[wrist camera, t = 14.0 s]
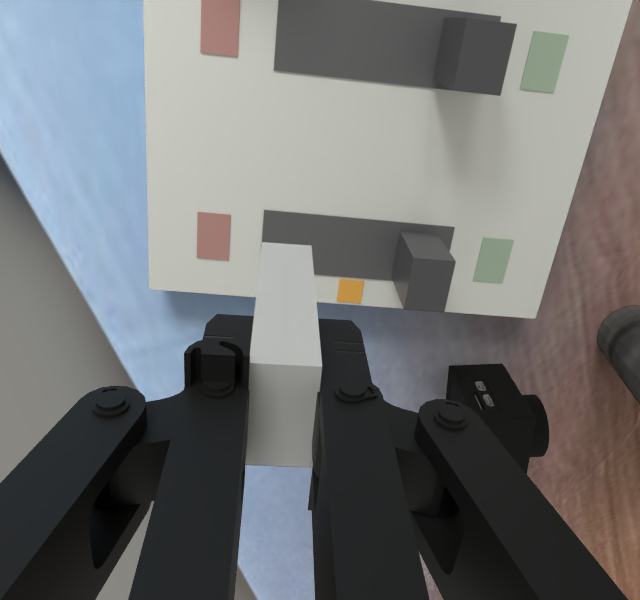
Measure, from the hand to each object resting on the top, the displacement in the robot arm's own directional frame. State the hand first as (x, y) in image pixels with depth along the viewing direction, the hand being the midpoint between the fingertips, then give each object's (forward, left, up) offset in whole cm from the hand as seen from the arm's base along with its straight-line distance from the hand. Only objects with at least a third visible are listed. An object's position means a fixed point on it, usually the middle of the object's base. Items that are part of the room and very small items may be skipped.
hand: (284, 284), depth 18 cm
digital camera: (+20, +17, -21) cm, 34 cm away
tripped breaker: (+5, +9, -17) cm, 20 cm away
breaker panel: (-1, +5, -21) cm, 22 cm away
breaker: (-7, +9, -17) cm, 21 cm away
